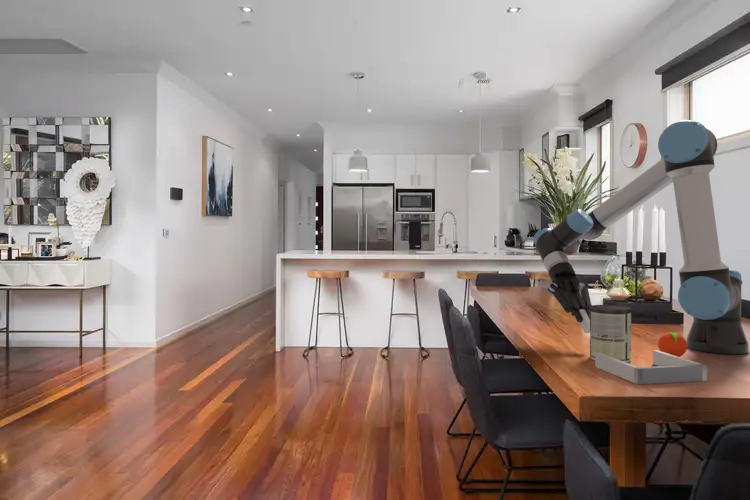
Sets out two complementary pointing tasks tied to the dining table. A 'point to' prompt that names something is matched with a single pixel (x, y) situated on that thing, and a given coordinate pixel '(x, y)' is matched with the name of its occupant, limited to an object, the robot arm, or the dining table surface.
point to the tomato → (672, 344)
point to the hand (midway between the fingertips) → (589, 330)
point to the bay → (654, 369)
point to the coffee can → (610, 331)
